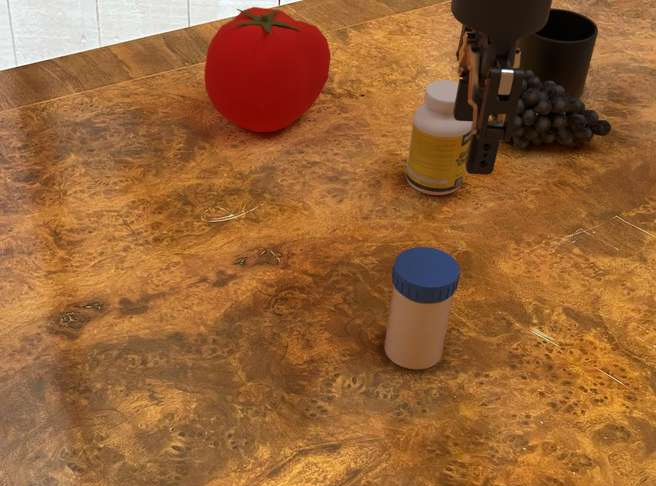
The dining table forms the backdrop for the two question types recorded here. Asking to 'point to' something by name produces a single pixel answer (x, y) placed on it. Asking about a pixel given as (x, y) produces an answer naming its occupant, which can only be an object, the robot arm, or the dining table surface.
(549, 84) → the fruit
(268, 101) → the tomato
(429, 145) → the pill bottle
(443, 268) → the jar lid
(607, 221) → the dining table surface
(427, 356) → the plain beige capped bottle
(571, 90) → the black cylindrical cup
